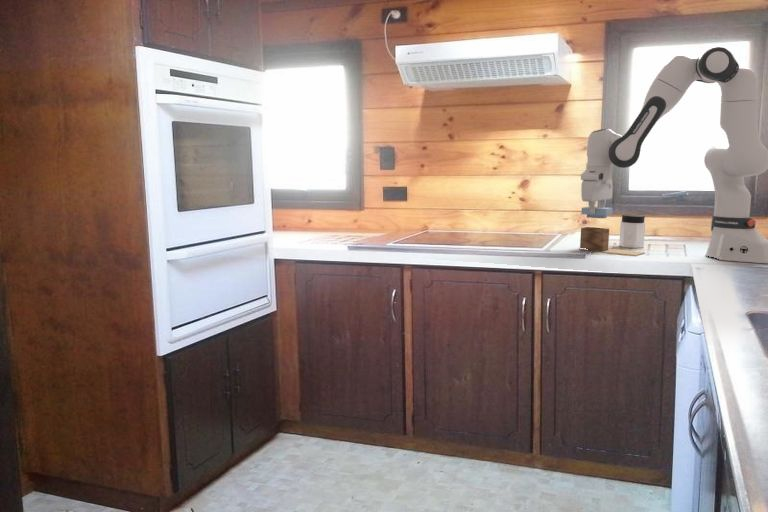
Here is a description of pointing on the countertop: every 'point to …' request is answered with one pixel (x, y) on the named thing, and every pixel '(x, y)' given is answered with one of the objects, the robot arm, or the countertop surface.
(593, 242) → the box
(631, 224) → the jar
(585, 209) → the lid
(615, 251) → the mat
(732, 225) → the robot arm
